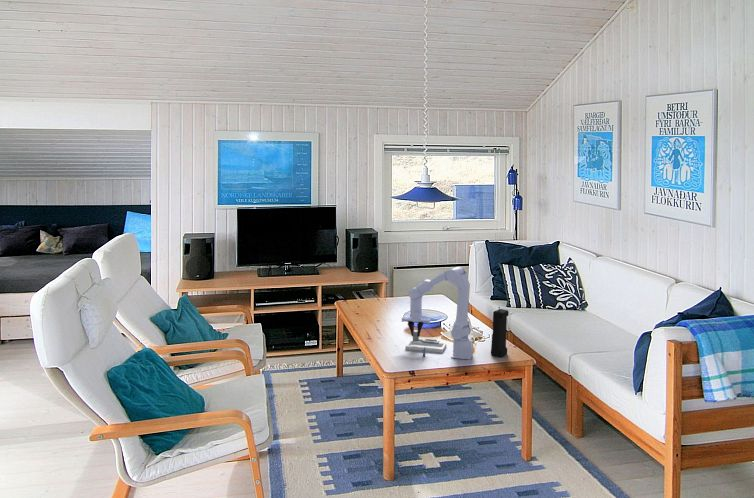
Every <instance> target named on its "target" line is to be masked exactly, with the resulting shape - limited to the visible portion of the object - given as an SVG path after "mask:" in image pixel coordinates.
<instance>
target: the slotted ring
mask: <svg viewBox="0 0 754 498" xmlns="http://www.w3.org/2000/svg"><path fill="white" fill-rule="evenodd" d="M417 334H418V329H416V330H415V329H414V331H413V336H412V340H413V341H416V342H417V341H420V342H422V343H430V344H438V343H441V342H440V341H441V340H440V339H434V338H427V337H425V338H420V336H419V337H418V336H417Z"/></svg>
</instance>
